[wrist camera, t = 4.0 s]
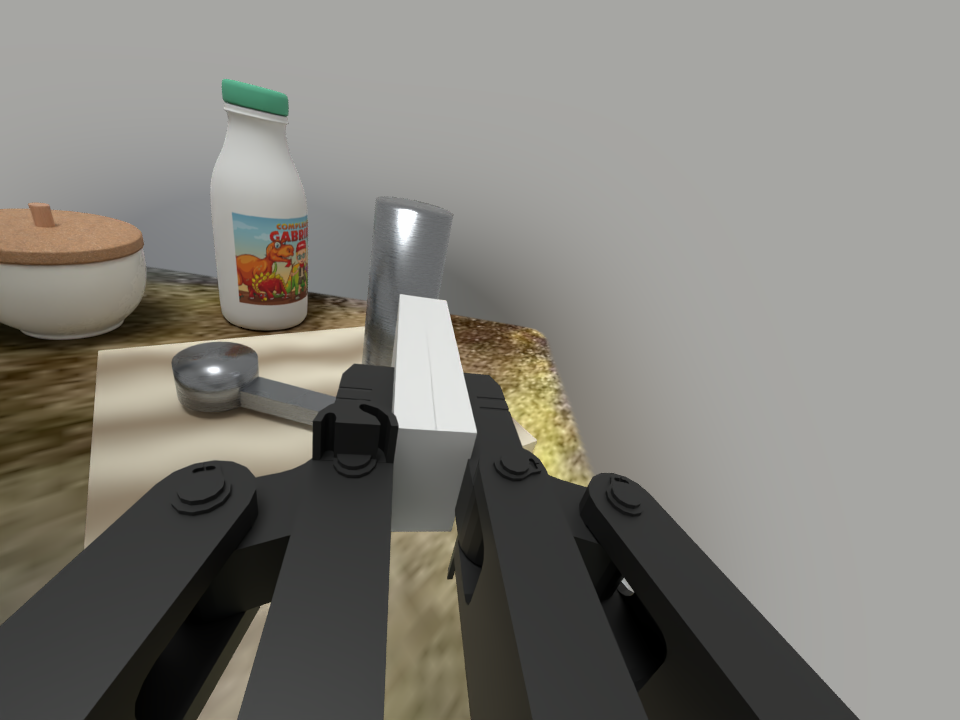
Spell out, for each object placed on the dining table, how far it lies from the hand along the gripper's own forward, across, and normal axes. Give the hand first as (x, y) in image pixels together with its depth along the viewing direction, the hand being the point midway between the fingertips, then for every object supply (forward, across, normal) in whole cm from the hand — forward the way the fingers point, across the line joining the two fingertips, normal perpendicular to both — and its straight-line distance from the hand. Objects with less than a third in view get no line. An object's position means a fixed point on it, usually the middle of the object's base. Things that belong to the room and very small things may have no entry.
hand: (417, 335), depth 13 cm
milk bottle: (+28, -13, -14) cm, 34 cm away
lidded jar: (+22, -26, -14) cm, 37 cm away
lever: (+9, -5, -11) cm, 16 cm away
